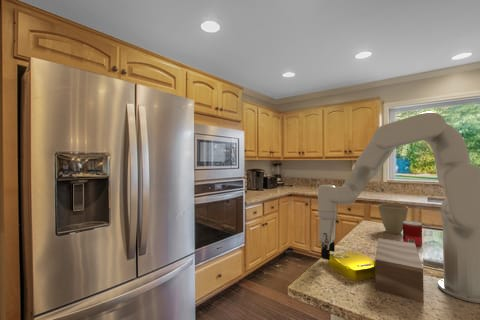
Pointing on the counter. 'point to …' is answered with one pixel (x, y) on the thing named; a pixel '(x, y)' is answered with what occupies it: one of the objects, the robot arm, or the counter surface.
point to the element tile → (353, 265)
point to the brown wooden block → (399, 269)
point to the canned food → (412, 232)
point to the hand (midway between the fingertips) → (328, 254)
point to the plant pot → (393, 217)
